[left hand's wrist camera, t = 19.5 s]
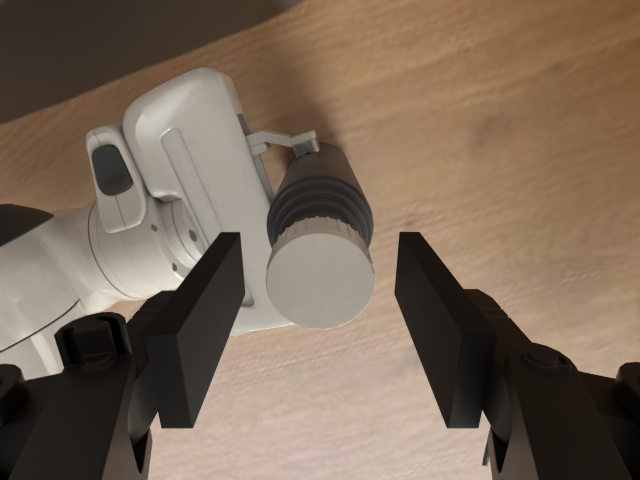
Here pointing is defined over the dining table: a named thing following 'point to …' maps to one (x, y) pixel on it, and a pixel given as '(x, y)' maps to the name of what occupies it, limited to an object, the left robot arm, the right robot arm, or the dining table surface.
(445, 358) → the left robot arm
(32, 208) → the right robot arm
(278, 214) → the bottle
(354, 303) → the cap
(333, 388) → the dining table surface
